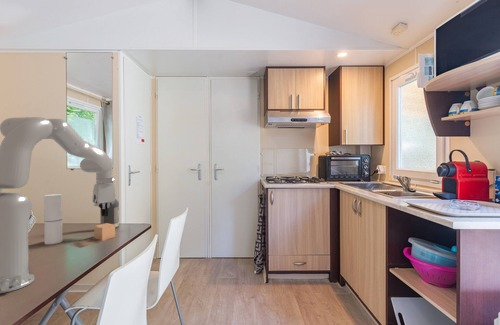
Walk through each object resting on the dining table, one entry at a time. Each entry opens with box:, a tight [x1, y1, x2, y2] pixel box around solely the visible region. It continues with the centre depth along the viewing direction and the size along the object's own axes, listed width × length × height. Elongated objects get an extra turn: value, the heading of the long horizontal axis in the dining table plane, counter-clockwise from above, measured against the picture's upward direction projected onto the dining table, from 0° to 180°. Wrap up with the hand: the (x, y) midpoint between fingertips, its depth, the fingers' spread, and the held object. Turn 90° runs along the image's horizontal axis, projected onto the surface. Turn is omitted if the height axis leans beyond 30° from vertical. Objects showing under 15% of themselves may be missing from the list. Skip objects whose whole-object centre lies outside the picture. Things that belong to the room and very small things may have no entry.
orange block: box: [93, 223, 116, 241], centre depth 137 cm, size 7×7×6 cm
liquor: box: [99, 198, 120, 230], centre depth 155 cm, size 9×9×30 cm
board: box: [68, 235, 120, 248], centre depth 132 cm, size 20×10×2 cm, turn 151°
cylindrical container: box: [43, 193, 63, 245], centre depth 129 cm, size 7×7×25 cm
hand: (104, 215), depth 136 cm, fingers closed
